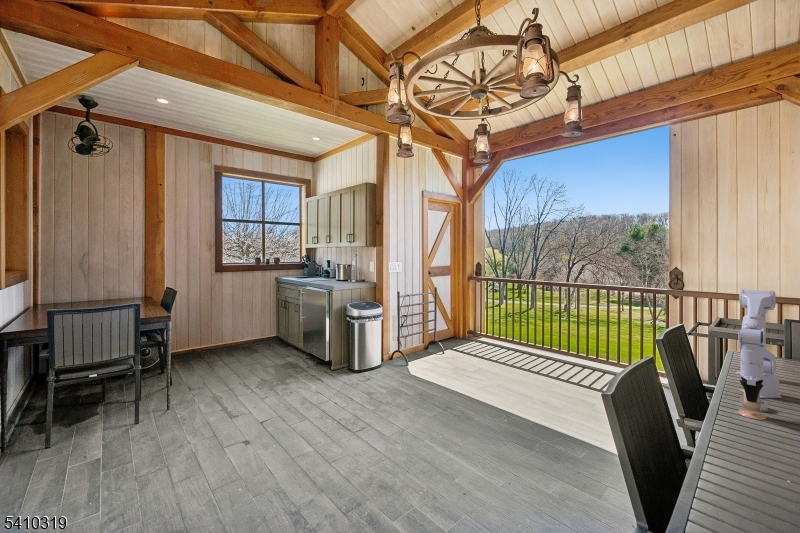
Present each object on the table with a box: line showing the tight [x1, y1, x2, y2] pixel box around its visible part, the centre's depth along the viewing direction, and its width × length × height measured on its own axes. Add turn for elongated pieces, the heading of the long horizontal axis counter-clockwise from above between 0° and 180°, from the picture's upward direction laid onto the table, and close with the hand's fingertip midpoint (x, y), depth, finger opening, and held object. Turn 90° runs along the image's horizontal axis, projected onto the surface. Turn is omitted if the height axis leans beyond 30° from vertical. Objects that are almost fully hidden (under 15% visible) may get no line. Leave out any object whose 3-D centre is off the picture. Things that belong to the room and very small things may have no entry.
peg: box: [743, 390, 761, 413], centre depth 121 cm, size 4×4×7 cm
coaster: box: [737, 409, 767, 421], centre depth 121 cm, size 7×7×1 cm
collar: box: [739, 396, 769, 413], centre depth 128 cm, size 7×7×2 cm
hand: (751, 399), depth 121 cm, fingers closed on peg, 4 cm apart
